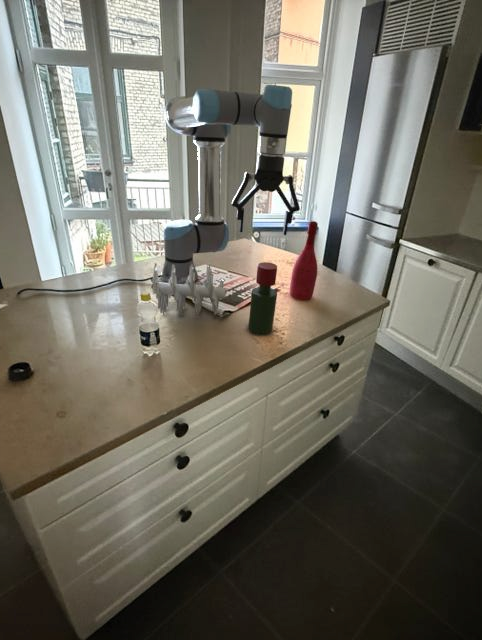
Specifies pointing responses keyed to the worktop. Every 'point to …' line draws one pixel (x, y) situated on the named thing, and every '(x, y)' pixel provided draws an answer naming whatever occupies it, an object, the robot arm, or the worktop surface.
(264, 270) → the cap
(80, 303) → the worktop surface
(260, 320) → the oil bottle
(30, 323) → the worktop surface
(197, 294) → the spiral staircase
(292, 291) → the wine bottle
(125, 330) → the worktop surface
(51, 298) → the worktop surface
